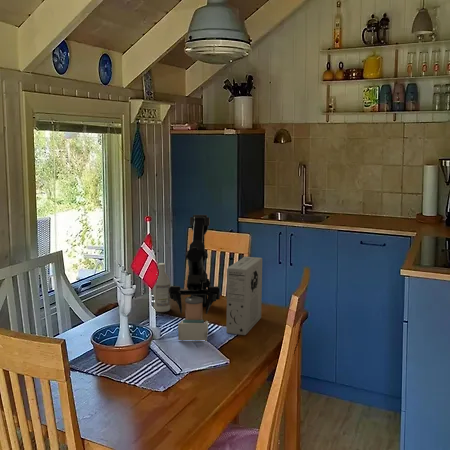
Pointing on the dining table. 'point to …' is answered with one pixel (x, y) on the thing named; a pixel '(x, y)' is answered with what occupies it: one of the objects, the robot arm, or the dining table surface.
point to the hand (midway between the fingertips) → (193, 313)
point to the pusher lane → (192, 331)
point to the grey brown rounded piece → (193, 308)
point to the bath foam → (162, 290)
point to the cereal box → (244, 295)
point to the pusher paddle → (193, 321)
